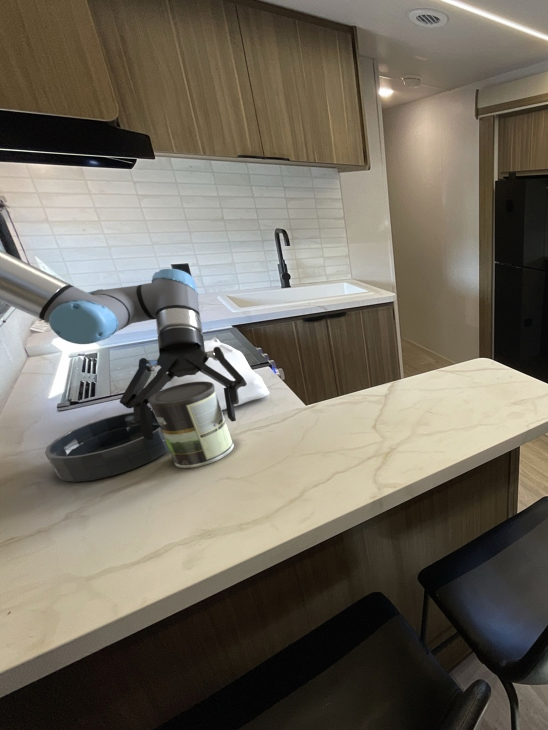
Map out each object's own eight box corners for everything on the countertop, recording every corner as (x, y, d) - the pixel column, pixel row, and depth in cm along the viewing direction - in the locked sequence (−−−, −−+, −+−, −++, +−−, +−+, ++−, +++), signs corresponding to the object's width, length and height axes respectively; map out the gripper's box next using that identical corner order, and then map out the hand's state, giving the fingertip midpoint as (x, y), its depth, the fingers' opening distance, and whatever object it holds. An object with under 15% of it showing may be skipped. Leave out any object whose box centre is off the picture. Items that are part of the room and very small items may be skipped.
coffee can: (176, 475, 76) (148, 408, 70) (173, 453, 83) (147, 391, 78) (238, 454, 82) (217, 391, 76) (230, 435, 89) (210, 377, 84)
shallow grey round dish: (28, 487, 74) (13, 462, 72) (111, 434, 92) (101, 413, 90) (138, 477, 76) (126, 452, 74) (199, 427, 93) (191, 406, 91)
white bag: (236, 373, 126) (223, 332, 121) (273, 398, 107) (259, 350, 102) (161, 394, 113) (143, 349, 108) (187, 426, 94) (167, 373, 89)
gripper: (252, 334, 93) (267, 418, 86) (114, 354, 83) (119, 451, 76) (244, 316, 86) (259, 405, 80) (93, 336, 76) (96, 439, 69)
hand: (191, 428), depth 78 cm, fingers open, 13 cm apart
